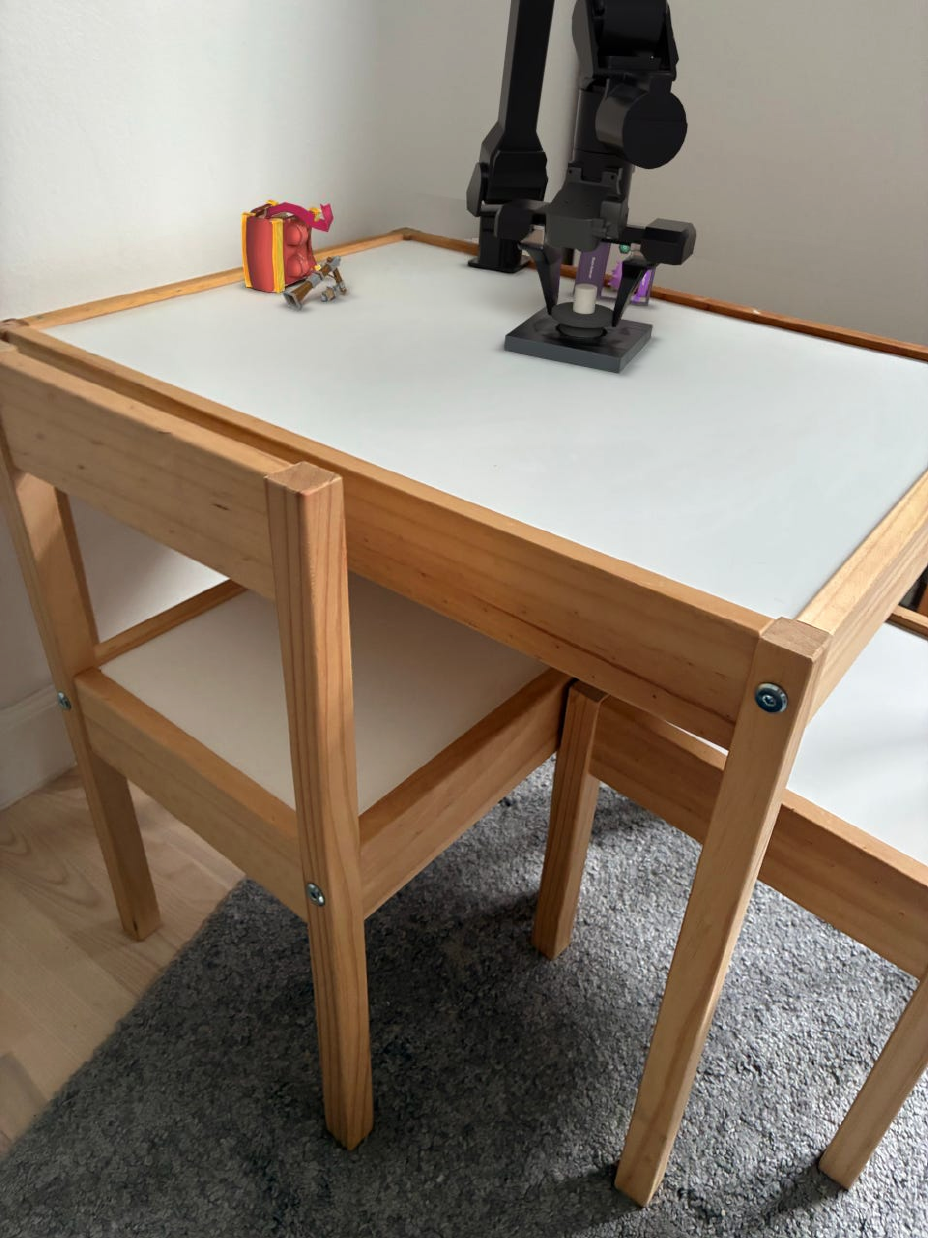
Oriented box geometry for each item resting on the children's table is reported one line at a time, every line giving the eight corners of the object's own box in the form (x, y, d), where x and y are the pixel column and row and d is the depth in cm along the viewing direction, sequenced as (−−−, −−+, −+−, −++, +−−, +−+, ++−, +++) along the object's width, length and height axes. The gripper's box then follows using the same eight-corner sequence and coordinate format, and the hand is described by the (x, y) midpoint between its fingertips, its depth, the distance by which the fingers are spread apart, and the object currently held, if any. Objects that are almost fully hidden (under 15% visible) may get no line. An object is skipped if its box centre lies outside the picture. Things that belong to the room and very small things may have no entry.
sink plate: (545, 318, 99) (546, 304, 98) (650, 338, 95) (653, 324, 94) (504, 350, 90) (505, 335, 89) (618, 373, 86) (621, 357, 85)
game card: (582, 233, 104) (659, 243, 102) (590, 240, 109) (664, 250, 107) (571, 293, 106) (646, 305, 104) (579, 298, 111) (651, 309, 109)
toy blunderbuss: (356, 287, 102) (342, 251, 98) (307, 329, 99) (291, 294, 95) (345, 283, 103) (331, 248, 99) (296, 325, 100) (281, 290, 96)
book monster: (277, 266, 110) (359, 290, 106) (228, 284, 103) (313, 310, 99) (273, 172, 103) (360, 193, 99) (221, 185, 97) (311, 208, 93)
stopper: (562, 317, 95) (566, 274, 93) (620, 327, 93) (626, 283, 91) (541, 333, 90) (545, 289, 88) (601, 345, 88) (608, 299, 86)
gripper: (476, 147, 79) (466, 325, 88) (684, 174, 73) (651, 361, 82) (521, 134, 87) (509, 297, 96) (712, 157, 82) (679, 328, 91)
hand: (582, 320), depth 91 cm, fingers closed on stopper, 6 cm apart
